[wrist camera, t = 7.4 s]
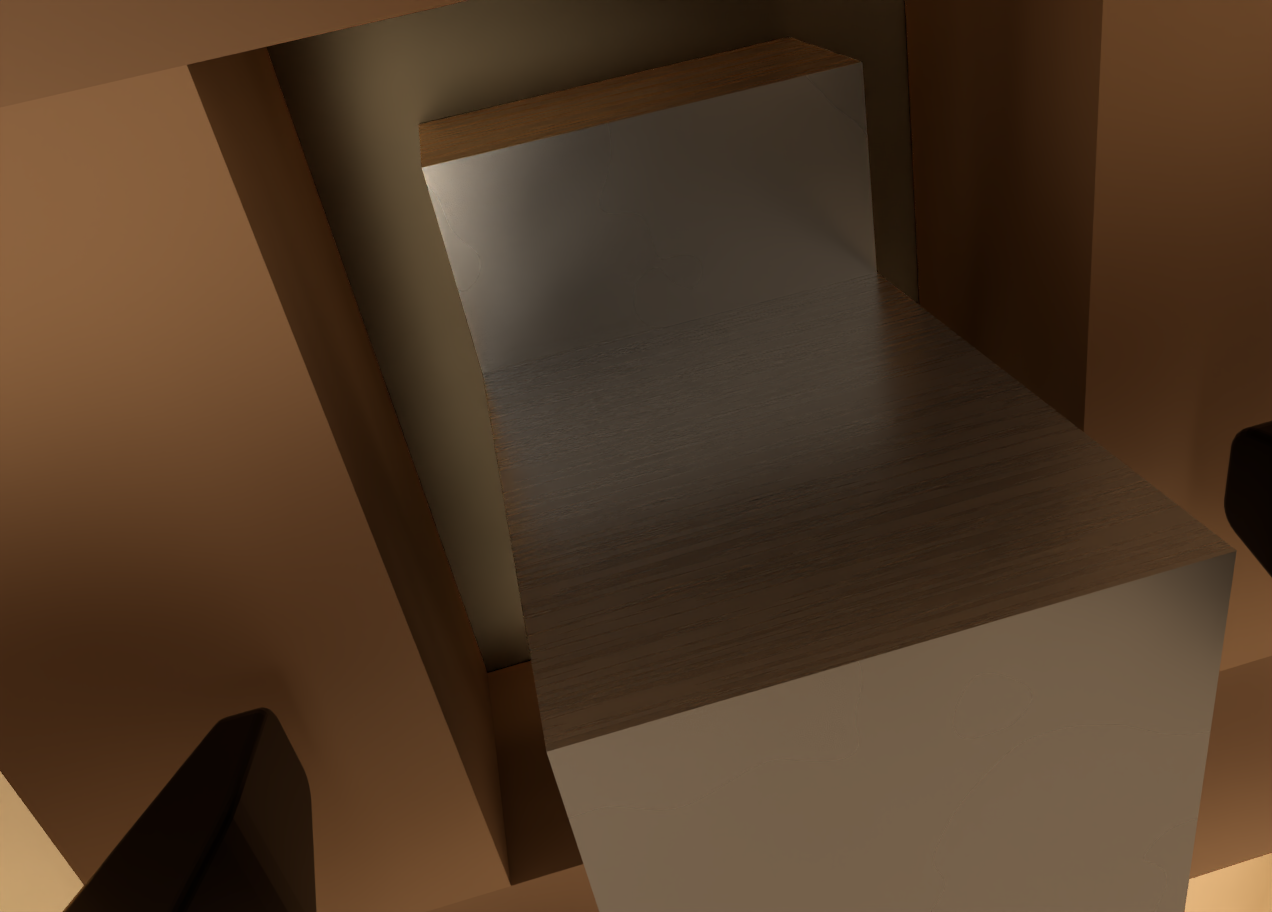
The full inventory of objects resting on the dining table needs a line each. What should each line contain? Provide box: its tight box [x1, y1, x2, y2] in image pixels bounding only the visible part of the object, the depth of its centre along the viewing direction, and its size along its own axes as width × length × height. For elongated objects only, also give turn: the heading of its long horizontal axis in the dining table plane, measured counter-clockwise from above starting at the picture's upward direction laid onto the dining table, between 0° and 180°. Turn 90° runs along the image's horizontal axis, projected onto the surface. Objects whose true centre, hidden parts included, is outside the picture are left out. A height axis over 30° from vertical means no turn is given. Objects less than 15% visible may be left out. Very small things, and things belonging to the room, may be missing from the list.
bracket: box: [419, 37, 1237, 912], centre depth 9 cm, size 6×4×7 cm, turn 11°
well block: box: [0, 0, 1272, 912], centre depth 10 cm, size 16×14×4 cm
